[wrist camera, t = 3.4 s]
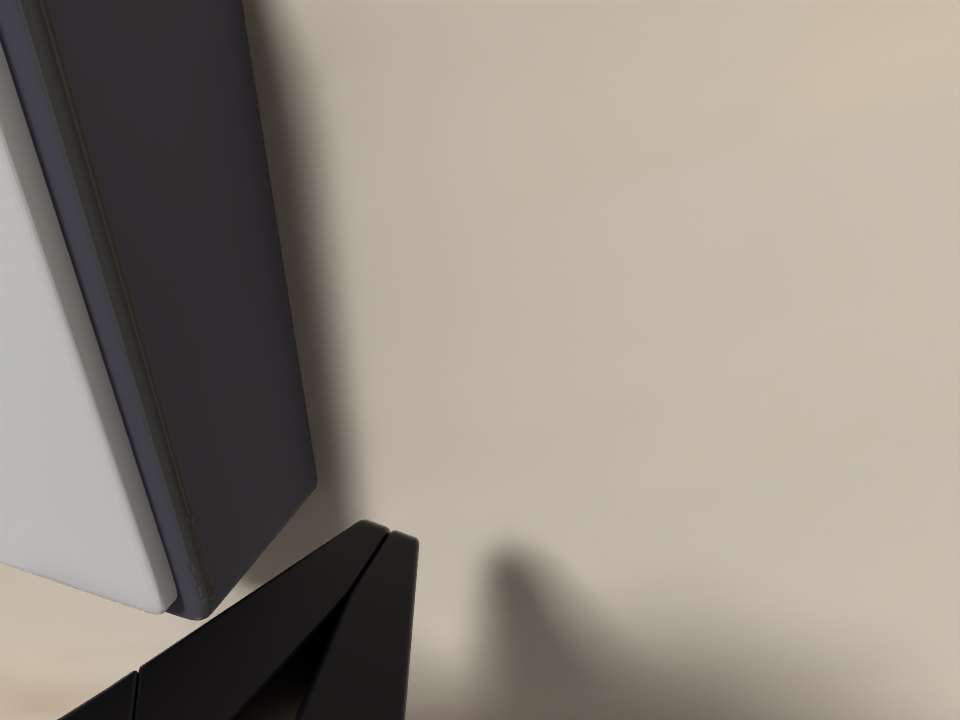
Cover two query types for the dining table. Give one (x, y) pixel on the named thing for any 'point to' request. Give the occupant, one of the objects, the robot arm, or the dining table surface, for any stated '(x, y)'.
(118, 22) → the calculator
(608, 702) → the dining table surface
